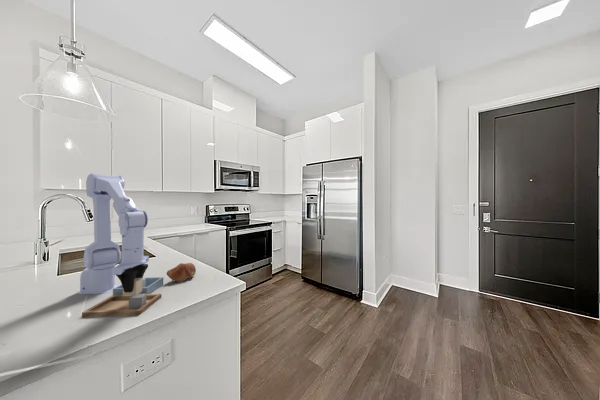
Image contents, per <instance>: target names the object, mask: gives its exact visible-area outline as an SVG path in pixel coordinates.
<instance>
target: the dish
mask: <svg viewBox="0 0 600 400" xmlns="http://www.w3.org/2000/svg"><path fill="white" fill-rule="evenodd" d="M145 278H146V287H145V288H142V292H140V293H139V294H145V293H146V294H154V292H155V291H157V290H158V289H160V288H161V287H163V286H164V276H161V277H160V276H159V277H157V276H156V277H145ZM118 285H119V286H118V287H116V288H114V289H113V290H112V295H123V286H122V283H121V284H118Z"/></svg>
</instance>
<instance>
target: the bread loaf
mask: <svg viewBox="0 0 600 400" xmlns="http://www.w3.org/2000/svg"><path fill="white" fill-rule="evenodd" d="M196 270H197V269H196V265H195V264H193V263H192V262H187V263H179V264H178V265H176V266H175V267H172V268H171V269H169V270H167V272H166V275H167V277H168V278H169V279H171V280H172V281H174V282H175V283H176V282H177V283H182V282H185V281H186V280H187V279H188V278H189V279H191V278H193V277H194V276H195V274H196Z"/></svg>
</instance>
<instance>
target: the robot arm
mask: <svg viewBox="0 0 600 400" xmlns="http://www.w3.org/2000/svg"><path fill="white" fill-rule="evenodd" d="M85 185H86V186H85V187H86V188H85V191H86V196H87V197H89V198H91V199H92V204H93V205H92V206H93V234H94V235H93V236H94V237H93V238H94V240H93V242H92V243H90V244H89V245H87V246H85V248H84V250H83V251H84V253H83V258H82V259H83V260H82V262H83V265H84V267H85V268H84V269H83V270H82V271H81V273H80V276H79V277H80V278H79V279H80V280H79V281H80V282H79V289H80V290H79V292H78V293H77V295H78V294H79V295H86V294H107V293H109V292H111V291H113V289H114V288H116V287H118V286H119V285H120V284H116V282H115V281H116V277H117V278H118V279H119V281H120V283H121V284H122V286H123V289H124V292H132V291H133V288H134V280H135V278H144V274H145V273H146V270H147V269H148V268H149V264H148V262H149V261H150V256H149V255H144V250H145V248H144V247H145V246H144V244H145V241H144V238H145V237H144V236H145V228H146V227H147V226H148V221H149V218H148V214H147V212H146V211H145V210H142V209H140V208H138V206H137V205H136V203H135V202H134V200H133V199H132V197H129V196H127V195H126V193H125V190H124V189H125V179H124V178H123V176H122V175H112V174H99V173H93V172H92V173H90V174H88V176H87V177H86V181H85ZM111 199H112V200H113V201H112V207H113V209H114V211H115V212H116V214H117V216H118V219H117V221H118V226H119V234H120V235H121V249H120V244H119V243H118V242H115V241H114V240H112V225H111ZM120 261H121V262H120ZM119 262H120V263H119Z"/></svg>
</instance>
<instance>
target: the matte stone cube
mask: <svg viewBox="0 0 600 400" xmlns="http://www.w3.org/2000/svg"><path fill="white" fill-rule="evenodd" d="M145 304H146V293H145V294H133V295H132V296H131V297H130V298H129V309H139V308H141V307H142V306H143V305H145Z"/></svg>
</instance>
